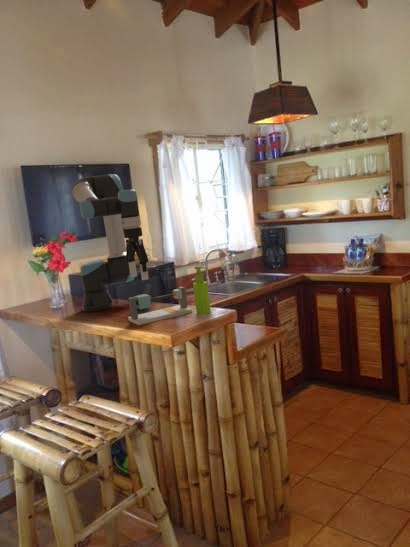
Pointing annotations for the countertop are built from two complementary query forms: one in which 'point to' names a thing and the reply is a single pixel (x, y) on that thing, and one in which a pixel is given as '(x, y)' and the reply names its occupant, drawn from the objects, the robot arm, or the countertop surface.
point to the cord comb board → (161, 313)
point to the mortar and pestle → (146, 291)
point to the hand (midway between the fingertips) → (139, 278)
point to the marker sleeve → (143, 301)
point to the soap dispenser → (201, 292)
